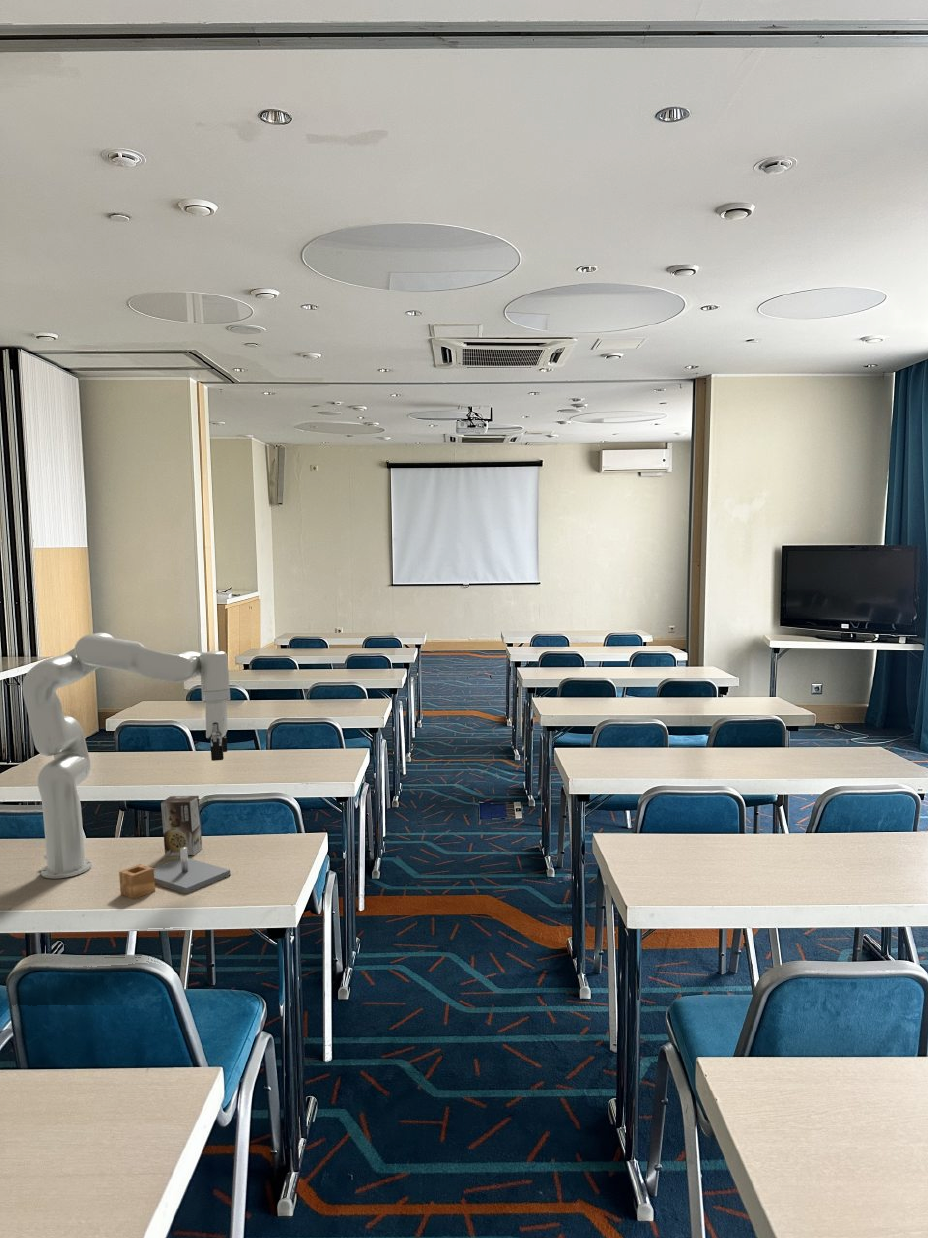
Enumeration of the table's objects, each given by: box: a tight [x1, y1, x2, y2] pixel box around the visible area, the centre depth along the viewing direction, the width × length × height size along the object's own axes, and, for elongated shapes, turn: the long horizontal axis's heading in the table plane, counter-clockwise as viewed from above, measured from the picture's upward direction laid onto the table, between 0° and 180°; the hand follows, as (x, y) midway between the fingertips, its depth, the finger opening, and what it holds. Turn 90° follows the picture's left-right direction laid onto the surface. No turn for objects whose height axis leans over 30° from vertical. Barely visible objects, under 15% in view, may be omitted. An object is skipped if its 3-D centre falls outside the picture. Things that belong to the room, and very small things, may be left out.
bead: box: [118, 863, 156, 900], centre depth 212 cm, size 6×6×6 cm
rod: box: [180, 847, 189, 873], centre depth 222 cm, size 2×2×6 cm
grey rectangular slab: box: [153, 857, 232, 894], centre depth 222 cm, size 20×14×2 cm
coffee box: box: [160, 795, 203, 857], centre depth 241 cm, size 9×6×16 cm
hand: (219, 756), depth 230 cm, fingers open, 9 cm apart
